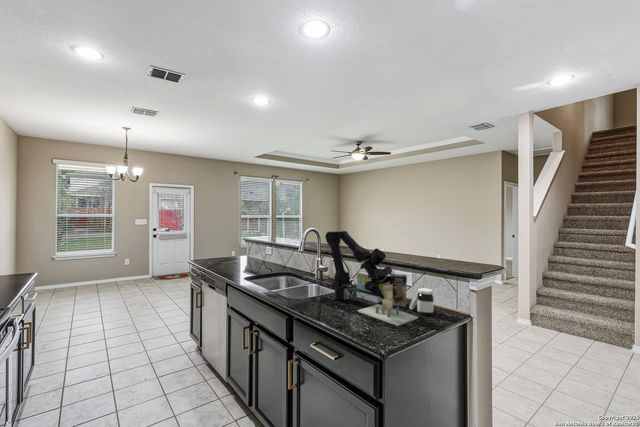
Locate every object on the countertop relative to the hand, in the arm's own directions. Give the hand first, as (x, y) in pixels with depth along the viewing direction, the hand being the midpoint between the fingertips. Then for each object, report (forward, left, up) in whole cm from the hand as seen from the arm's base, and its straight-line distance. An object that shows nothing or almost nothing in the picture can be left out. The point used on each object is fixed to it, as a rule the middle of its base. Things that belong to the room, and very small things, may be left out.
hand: (389, 297), depth 148 cm
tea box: (-28, -9, -9) cm, 31 cm away
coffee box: (-20, +5, -9) cm, 22 cm away
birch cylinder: (-1, -1, -8) cm, 8 cm away
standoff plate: (-1, -1, -9) cm, 9 cm away
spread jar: (-10, +16, -9) cm, 21 cm away
